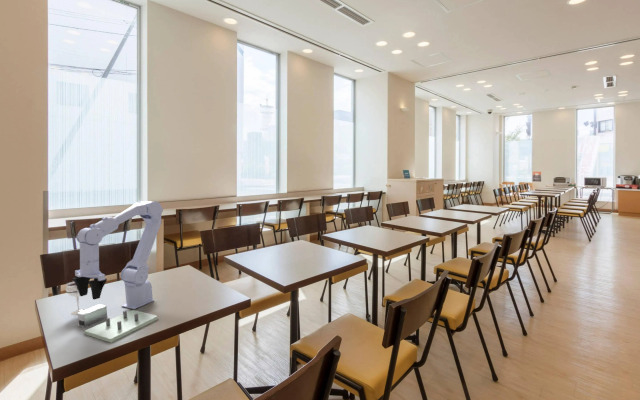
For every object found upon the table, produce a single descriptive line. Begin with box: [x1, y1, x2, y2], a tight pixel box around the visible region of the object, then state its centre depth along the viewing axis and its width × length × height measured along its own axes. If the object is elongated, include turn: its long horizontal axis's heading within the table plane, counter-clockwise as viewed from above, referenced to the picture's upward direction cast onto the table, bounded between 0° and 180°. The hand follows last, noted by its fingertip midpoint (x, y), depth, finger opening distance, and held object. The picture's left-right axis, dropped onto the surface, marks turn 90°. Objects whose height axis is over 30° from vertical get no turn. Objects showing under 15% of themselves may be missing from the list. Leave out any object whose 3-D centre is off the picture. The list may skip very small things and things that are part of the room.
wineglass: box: [65, 280, 86, 316], centre depth 131 cm, size 7×7×12 cm
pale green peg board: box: [83, 309, 159, 343], centre depth 119 cm, size 18×14×4 cm
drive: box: [77, 304, 108, 328], centre depth 122 cm, size 8×4×5 cm, turn 157°
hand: (89, 297), depth 121 cm, fingers open, 7 cm apart
